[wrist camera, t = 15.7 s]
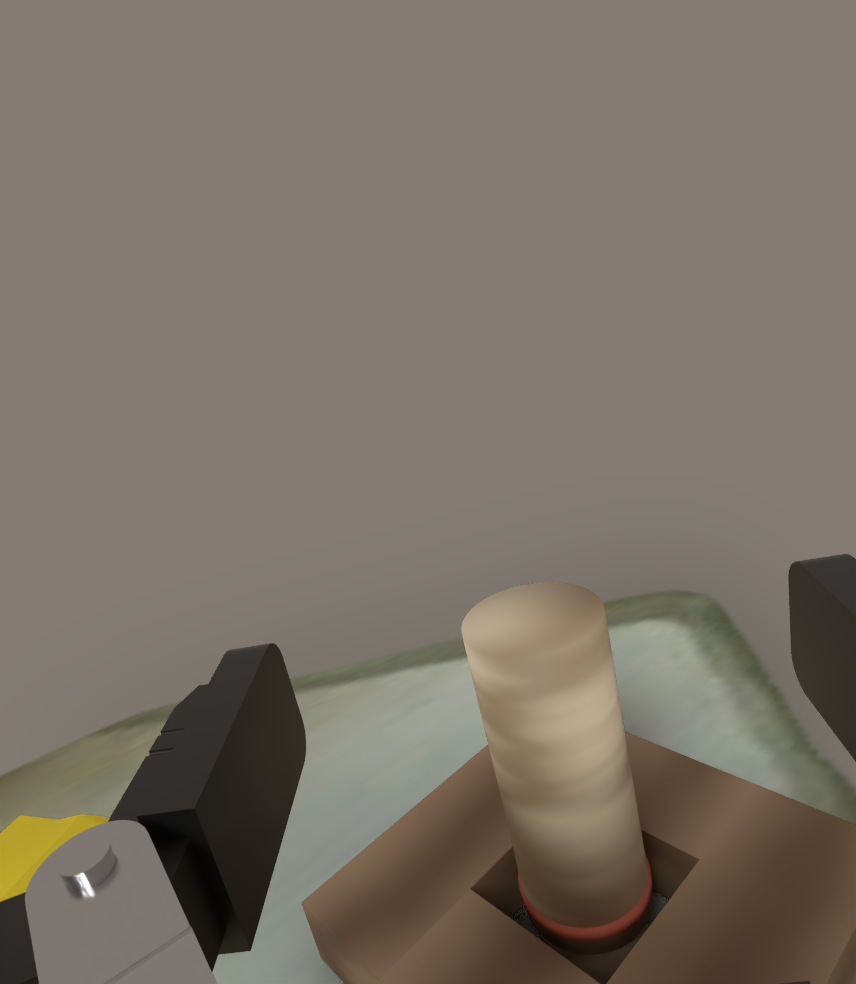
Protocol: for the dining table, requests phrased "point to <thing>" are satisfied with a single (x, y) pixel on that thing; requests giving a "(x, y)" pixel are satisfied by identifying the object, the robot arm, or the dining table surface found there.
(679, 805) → the board
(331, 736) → the dining table surface
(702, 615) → the dining table surface
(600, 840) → the peg
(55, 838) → the low-poly banana
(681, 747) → the dining table surface
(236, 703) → the robot arm
